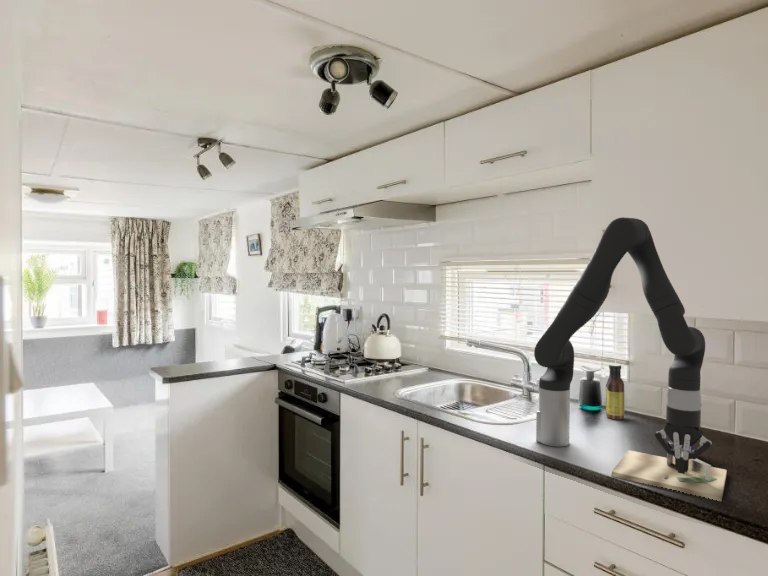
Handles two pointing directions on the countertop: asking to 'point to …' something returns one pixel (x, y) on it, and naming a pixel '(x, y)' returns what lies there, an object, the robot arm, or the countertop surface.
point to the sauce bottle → (615, 393)
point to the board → (669, 475)
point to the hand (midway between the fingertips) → (681, 472)
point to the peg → (692, 465)
